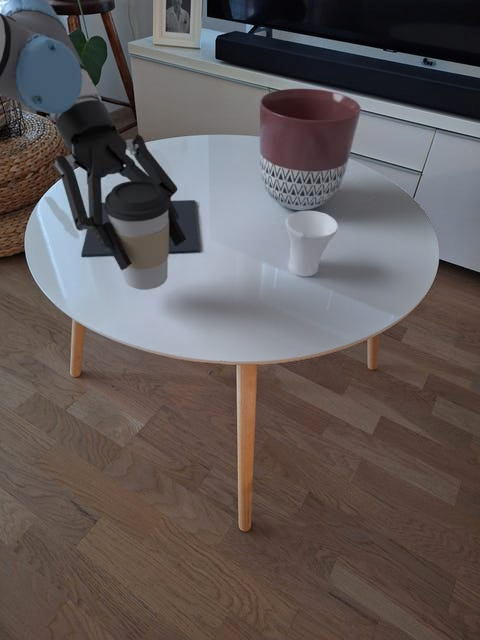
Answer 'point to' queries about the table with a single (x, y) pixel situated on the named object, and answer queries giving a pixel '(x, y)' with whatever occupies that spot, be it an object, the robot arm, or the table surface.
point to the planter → (305, 144)
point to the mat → (188, 227)
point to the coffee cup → (141, 230)
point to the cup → (308, 240)
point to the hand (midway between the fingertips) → (154, 254)
